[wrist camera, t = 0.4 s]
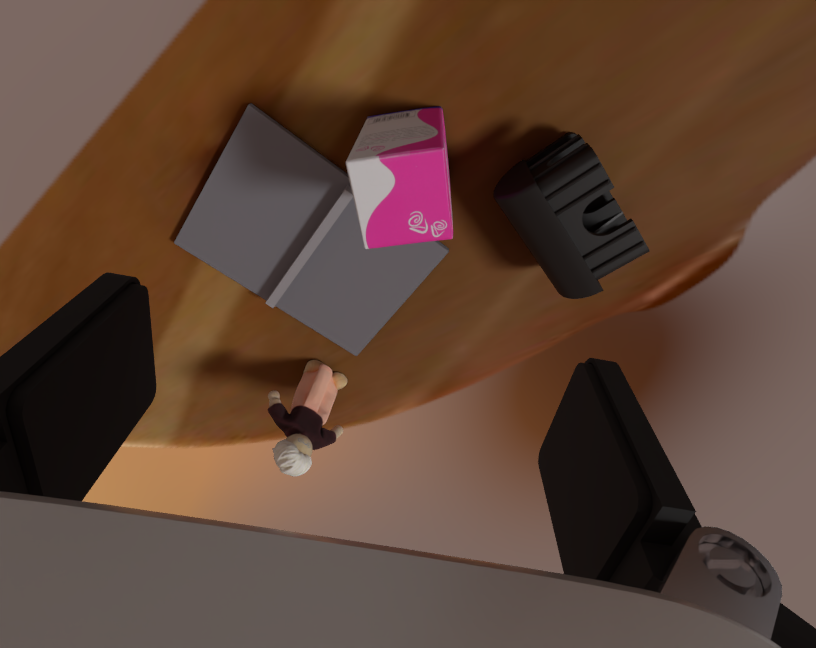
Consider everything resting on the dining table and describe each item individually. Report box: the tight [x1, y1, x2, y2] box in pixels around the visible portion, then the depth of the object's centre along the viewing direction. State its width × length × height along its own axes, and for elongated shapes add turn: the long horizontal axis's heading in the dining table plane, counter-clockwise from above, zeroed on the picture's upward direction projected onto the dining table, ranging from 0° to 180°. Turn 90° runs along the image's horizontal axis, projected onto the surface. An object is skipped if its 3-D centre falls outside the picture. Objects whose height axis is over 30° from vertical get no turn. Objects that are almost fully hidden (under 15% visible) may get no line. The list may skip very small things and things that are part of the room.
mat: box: [174, 103, 449, 356], centre depth 44 cm, size 14×19×2 cm
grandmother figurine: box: [268, 360, 347, 476], centre depth 47 cm, size 8×4×13 cm, turn 64°
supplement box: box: [346, 106, 453, 249], centre depth 35 cm, size 6×6×12 cm
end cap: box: [494, 132, 649, 299], centre depth 39 cm, size 10×7×7 cm
